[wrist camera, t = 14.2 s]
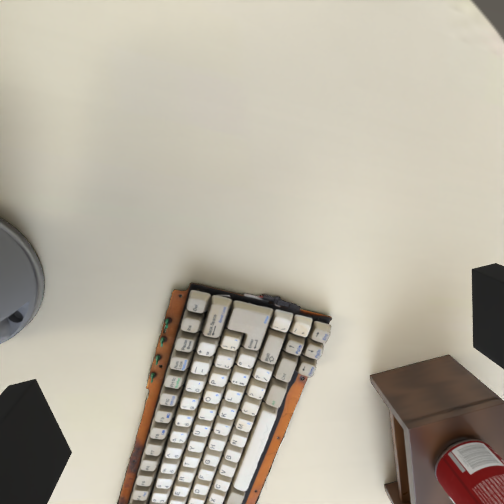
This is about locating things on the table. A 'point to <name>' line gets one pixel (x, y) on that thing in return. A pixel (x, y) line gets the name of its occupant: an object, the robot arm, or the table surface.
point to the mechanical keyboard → (220, 396)
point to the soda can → (471, 473)
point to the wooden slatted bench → (435, 422)
